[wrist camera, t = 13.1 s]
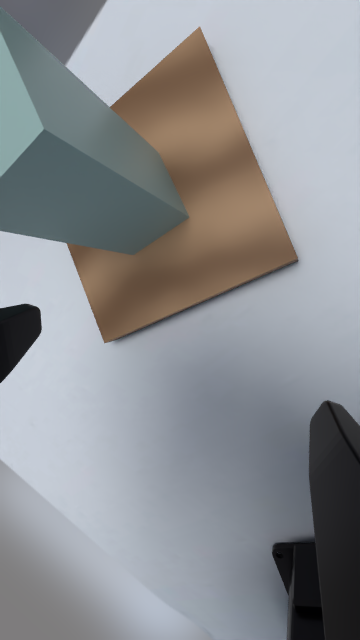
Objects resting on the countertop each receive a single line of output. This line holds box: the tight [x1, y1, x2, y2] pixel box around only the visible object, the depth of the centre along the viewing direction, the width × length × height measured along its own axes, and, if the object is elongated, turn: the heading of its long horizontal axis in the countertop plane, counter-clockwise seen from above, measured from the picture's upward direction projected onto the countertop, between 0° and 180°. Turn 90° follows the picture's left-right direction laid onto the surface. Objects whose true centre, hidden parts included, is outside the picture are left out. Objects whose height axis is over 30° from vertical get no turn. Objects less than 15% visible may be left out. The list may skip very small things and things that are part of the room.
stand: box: [67, 27, 298, 343], centre depth 20 cm, size 16×16×5 cm
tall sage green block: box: [0, 7, 189, 255], centre depth 15 cm, size 5×5×12 cm
